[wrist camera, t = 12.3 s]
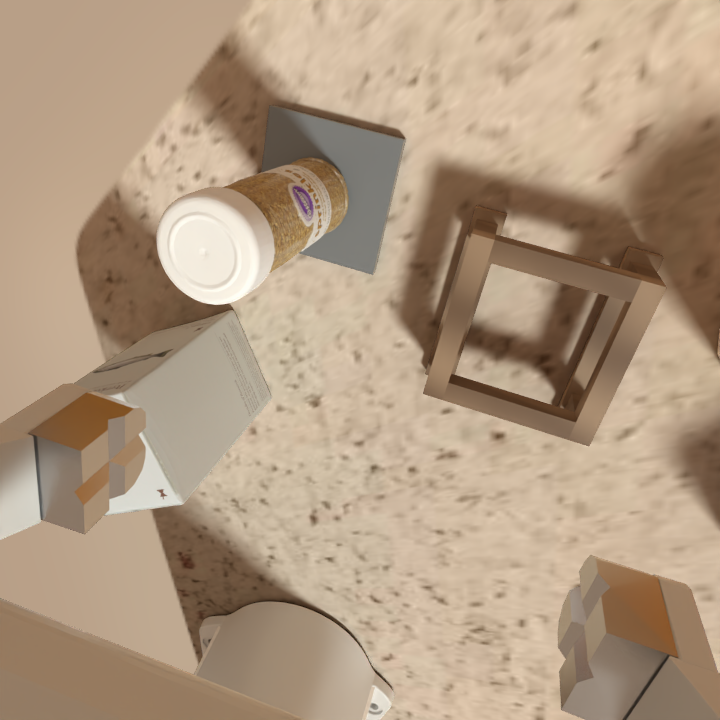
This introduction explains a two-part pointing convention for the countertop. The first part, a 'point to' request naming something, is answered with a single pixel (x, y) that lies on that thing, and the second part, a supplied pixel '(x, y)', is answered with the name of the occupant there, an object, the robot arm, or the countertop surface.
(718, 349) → the white cup
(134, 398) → the supplement box
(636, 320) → the square frame stand
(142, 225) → the countertop surface
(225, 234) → the sprinkles bottle
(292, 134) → the slate coaster
